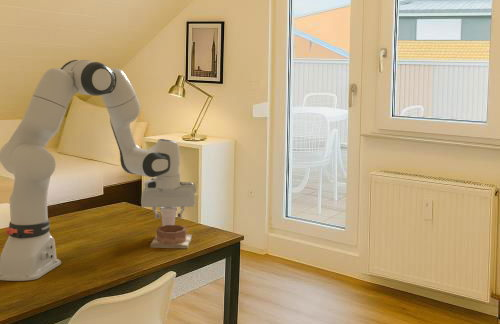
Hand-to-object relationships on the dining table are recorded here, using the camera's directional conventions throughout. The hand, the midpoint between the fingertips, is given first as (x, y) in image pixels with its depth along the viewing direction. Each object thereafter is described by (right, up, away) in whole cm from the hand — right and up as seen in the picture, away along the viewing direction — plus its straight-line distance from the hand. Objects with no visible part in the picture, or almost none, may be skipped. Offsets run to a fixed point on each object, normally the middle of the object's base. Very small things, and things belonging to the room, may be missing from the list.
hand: (168, 217), depth 232 cm
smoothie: (0, -6, +1) cm, 6 cm away
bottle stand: (+3, -8, -11) cm, 14 cm away
